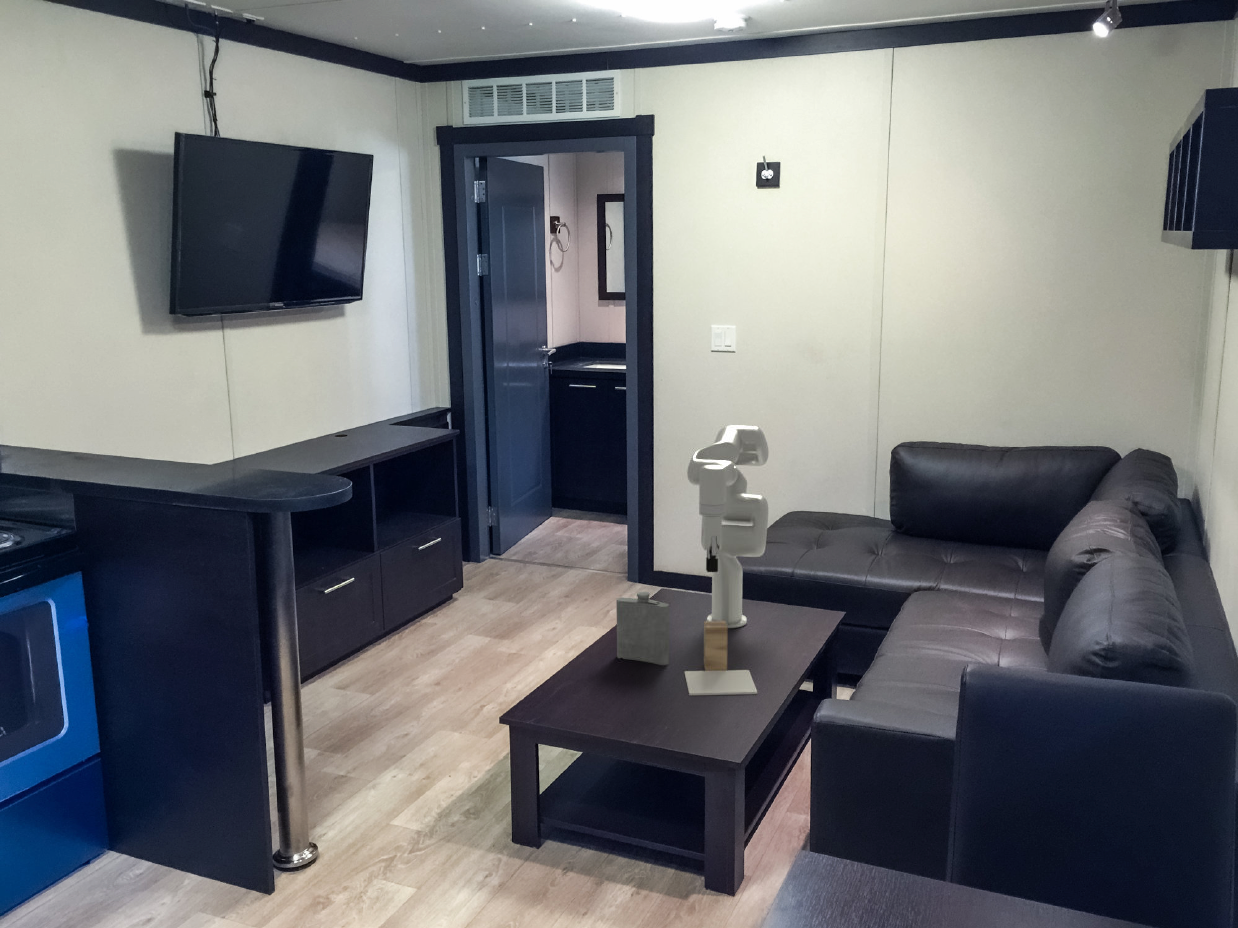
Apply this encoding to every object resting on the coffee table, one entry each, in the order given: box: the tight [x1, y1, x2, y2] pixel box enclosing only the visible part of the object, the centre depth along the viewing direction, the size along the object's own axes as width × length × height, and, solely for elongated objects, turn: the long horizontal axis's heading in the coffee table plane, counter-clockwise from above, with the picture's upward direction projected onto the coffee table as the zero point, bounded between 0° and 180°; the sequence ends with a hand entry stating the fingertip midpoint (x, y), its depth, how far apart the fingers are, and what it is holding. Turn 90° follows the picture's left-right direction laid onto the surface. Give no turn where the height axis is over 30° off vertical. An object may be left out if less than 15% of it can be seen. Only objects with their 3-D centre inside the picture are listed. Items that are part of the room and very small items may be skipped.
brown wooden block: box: [703, 620, 728, 671], centre depth 297 cm, size 5×6×13 cm
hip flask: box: [615, 591, 670, 666], centre depth 303 cm, size 16×4×20 cm, turn 66°
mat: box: [684, 669, 758, 696], centre depth 287 cm, size 15×18×1 cm
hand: (711, 571), depth 302 cm, fingers closed
